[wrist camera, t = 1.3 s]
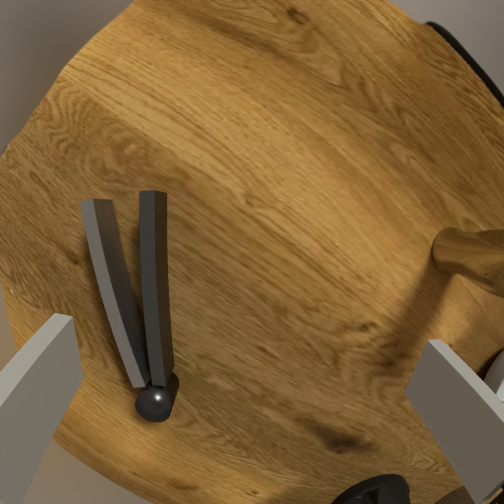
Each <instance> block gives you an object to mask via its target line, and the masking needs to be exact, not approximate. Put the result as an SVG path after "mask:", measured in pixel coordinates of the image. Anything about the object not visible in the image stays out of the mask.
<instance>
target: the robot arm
mask: <svg viewBox="0 0 504 504" xmlns="http://www.w3.org/2000/svg"><path fill="white" fill-rule="evenodd" d="M83 379H84V376H83V371H82V367H81V362H80V357H79V352H78V346H77V341H76V335H75V329H74V322H73V317H72V316H67V315H62V314H57V313H54V314H53V315H52V316H51V318H50V319H49V320H48V321H47V322H46V323H45V324H44V325H43V326H42V327H41V328H40V329H39V330H38V331H37V332H36V333H35V334H34V335H33V336H32V337H31V338H30V340H29V341H28V342H27V343H26V344H25V345H24V346H23V347H22V348H21V349H20V350H19V352H18V353H17V354H16V355H15V356H14V357H13V358H12V359H11V361H10V362H9V363H8V364H7V365H6V367H5V368H4V369H3V370H2V371H1V372H0V504H22V503H23V500H24V498H25V496H26V493H27V491H28V489H29V486H30V484H31V482H32V479H33V477H34V475H35V473H36V471H37V468H38V466H39V464H40V462H41V460H42V458H43V455H44V453H45V451H46V449H47V447H48V445H49V443H50V441H51V439H52V437H53V435H54V433H55V431H56V429H57V427H58V425H59V423H60V421H61V420H62V418H63V416H64V414H65V412H66V410H67V408H68V406H69V404H70V403H71V401H72V399H73V397H74V395H75V393H76V392H77V390H78V388H79V386H80V384H81V383H82V381H83ZM404 394H405V395H406V397H407V398H408V400H409V401H410V403H411V404H412V406H413V407H414V409H415V410H416V412H417V413H418V415H419V416H420V417H421V419H422V420H423V422H424V423H425V425H426V427H427V428H428V430H429V431H430V433H431V434H432V436H433V437H434V439H435V440H436V442H437V443H438V445H439V446H440V448H441V450H442V451H443V453H444V454H445V456H446V457H447V459H448V460H449V462H450V464H451V465H452V467H453V468H454V470H455V472H456V473H457V475H458V476H459V478H460V480H461V481H462V483H463V485H464V486H465V488H466V489H467V491H468V493H469V494H470V496H471V498H472V499H473V501H474V503H475V504H480V503H482V502H484V501H485V500H487V499H489V498H490V497H491V496H492V495H493V494H494V493H495V492H497V491H498V490H499V489H500V488H501V487H502V489H503V491H502V492H501V493H500V494H499V495H498V496H497V497H496V498H495V499H494V500H492V501H491V502H490V503H489V504H496V503H498V504H504V402H503V401H502V400H500V398H499V397H498V396H497V395H496V394H495V393H494V392H493V391H492V390H491V389H490V388H489V387H488V386H487V385H486V384H485V383H484V382H483V381H482V380H481V379H480V378H479V377H478V376H477V375H476V374H475V373H474V371H473V370H472V369H471V368H470V367H469V366H468V365H467V364H466V363H465V362H464V361H463V360H462V359H460V358H459V357H458V356H457V355H456V354H455V353H454V352H453V351H452V350H451V349H450V348H449V347H448V346H447V345H446V344H445V343H444V342H443V341H442V340H441V339H434V340H427V342H426V344H425V347H424V349H423V352H422V354H421V356H420V359H419V361H418V363H417V366H416V368H415V370H414V373H413V375H412V377H411V379H410V381H409V383H408V386H407V388H406V390H405V392H404ZM409 492H410V491H409V486H408V484H407V482H406V480H405V479H404V478H403V477H402V476H400V475H396V474H388V475H382V476H378V477H374V478H371V479H368V480H366V481H363V482H361V483H359V484H357V485H355V486H353V487H352V488H350V489H348V490H347V491H345V492H344V493H343V494H342V495H340V496H339V497H338V498H337V499H336V500H335V502H334V503H333V504H411V503H410V498H409Z"/></svg>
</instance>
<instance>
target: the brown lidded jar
mask: <svg viewBox="0 0 504 504" xmlns="http://www.w3.org/2000/svg"><path fill="white" fill-rule="evenodd" d="M436 504H475V503H474V501H473V499H472V498H471V496H470V494H469V493H468V491H467V489H466V488H465V486H464V487H461V488H459V489H457V490H455V491H453V492H452V493H450V494H448V495H447V496H445V497H444V498H443V499H441V500H440V501H439V502H437V503H436ZM480 504H485V503H484V502H482V503H480Z"/></svg>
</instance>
